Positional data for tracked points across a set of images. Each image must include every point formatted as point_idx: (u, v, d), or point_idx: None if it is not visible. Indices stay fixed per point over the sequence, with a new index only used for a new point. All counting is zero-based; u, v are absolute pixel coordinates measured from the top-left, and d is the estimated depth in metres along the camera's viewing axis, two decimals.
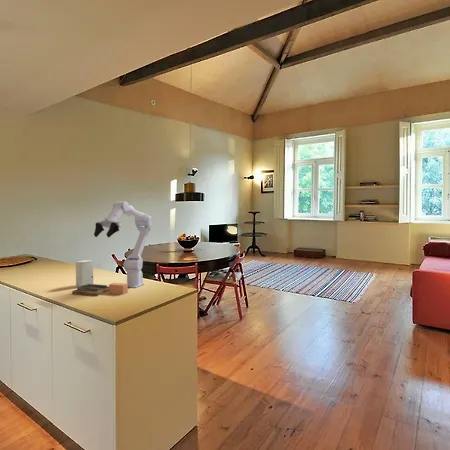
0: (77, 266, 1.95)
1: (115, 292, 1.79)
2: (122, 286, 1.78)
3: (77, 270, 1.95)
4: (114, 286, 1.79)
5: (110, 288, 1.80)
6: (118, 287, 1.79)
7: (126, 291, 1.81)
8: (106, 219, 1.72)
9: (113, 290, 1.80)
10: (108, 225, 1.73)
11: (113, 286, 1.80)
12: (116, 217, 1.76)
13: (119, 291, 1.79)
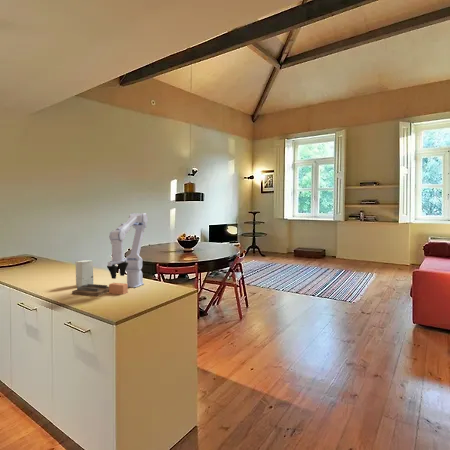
0: (77, 266, 1.95)
1: (115, 292, 1.79)
2: (122, 286, 1.78)
3: (77, 270, 1.95)
4: (114, 286, 1.79)
5: (110, 288, 1.80)
6: (118, 287, 1.79)
7: (126, 291, 1.81)
8: (123, 261, 1.79)
9: (112, 290, 1.80)
10: (118, 263, 1.81)
11: (113, 286, 1.80)
12: None
13: (119, 291, 1.79)
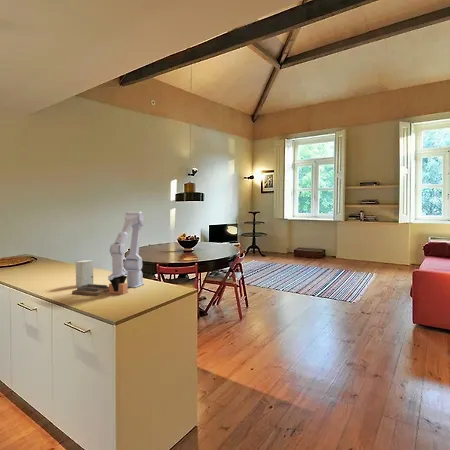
0: (77, 266, 1.95)
1: (115, 292, 1.79)
2: (122, 286, 1.78)
3: (77, 270, 1.95)
4: None
5: (110, 288, 1.80)
6: (118, 287, 1.79)
7: (126, 291, 1.81)
8: (123, 275, 1.80)
9: (112, 290, 1.80)
10: (119, 276, 1.81)
11: None
12: None
13: (119, 291, 1.79)
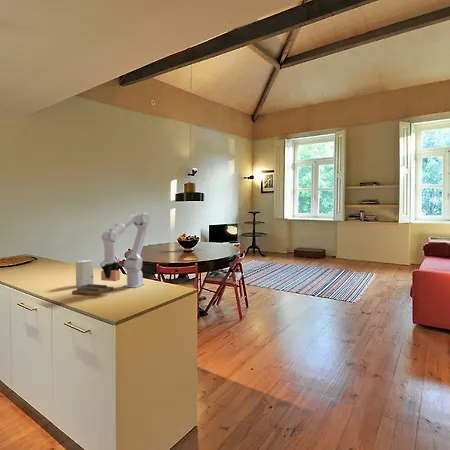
0: (77, 266, 1.95)
1: (107, 279, 1.80)
2: (114, 273, 1.78)
3: (77, 270, 1.95)
4: None
5: (102, 275, 1.81)
6: (110, 274, 1.79)
7: (118, 278, 1.81)
8: (115, 262, 1.80)
9: (105, 277, 1.80)
10: (111, 263, 1.81)
11: None
12: None
13: (111, 278, 1.79)
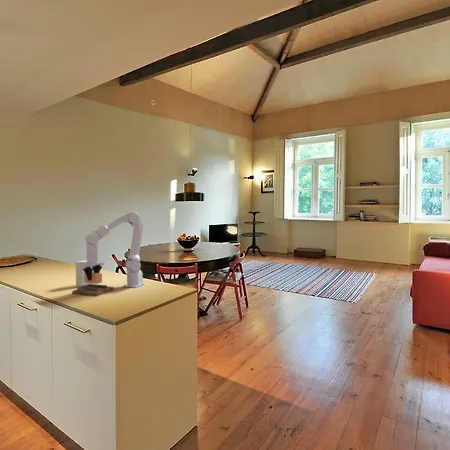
0: (77, 266, 1.95)
1: (89, 281, 1.82)
2: (95, 275, 1.80)
3: (77, 270, 1.95)
4: None
5: (85, 277, 1.83)
6: (92, 276, 1.81)
7: (100, 281, 1.82)
8: (97, 264, 1.82)
9: (87, 279, 1.82)
10: (93, 266, 1.83)
11: None
12: None
13: (93, 280, 1.81)
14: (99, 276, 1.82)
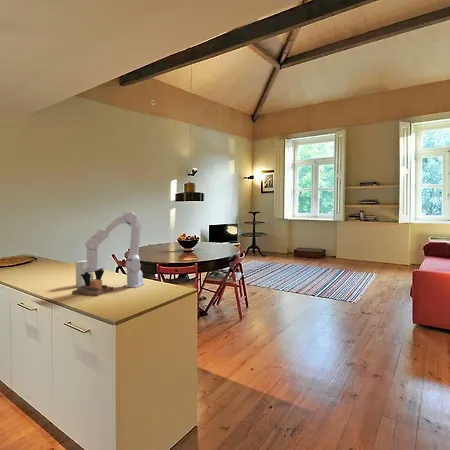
0: (77, 266, 1.95)
1: None
2: (95, 282, 1.80)
3: (77, 270, 1.95)
4: None
5: None
6: (92, 283, 1.81)
7: (100, 287, 1.82)
8: (97, 269, 1.82)
9: (87, 286, 1.83)
10: (93, 271, 1.83)
11: None
12: None
13: (93, 287, 1.81)
14: (99, 283, 1.82)
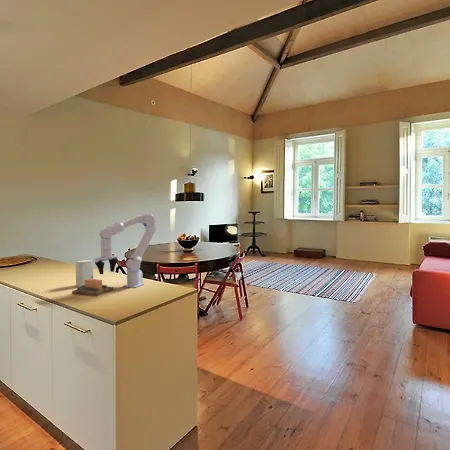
0: (77, 266, 1.95)
1: None
2: (95, 282, 1.80)
3: (77, 270, 1.95)
4: (89, 282, 1.82)
5: (85, 284, 1.83)
6: (92, 283, 1.81)
7: (100, 287, 1.82)
8: None
9: (87, 286, 1.83)
10: None
11: (88, 282, 1.82)
12: None
13: (93, 287, 1.81)
14: (99, 283, 1.82)
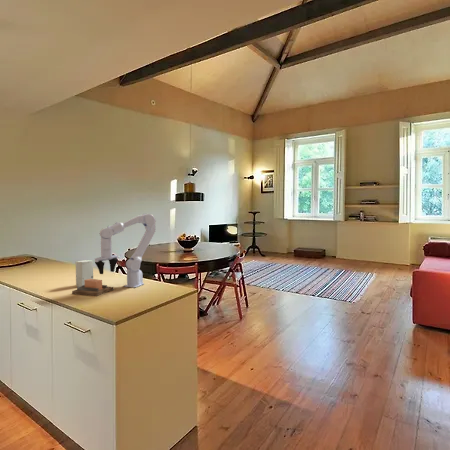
0: (77, 266, 1.95)
1: None
2: (95, 282, 1.80)
3: (77, 270, 1.95)
4: (89, 282, 1.82)
5: (85, 284, 1.83)
6: (92, 283, 1.81)
7: (100, 287, 1.82)
8: (110, 258, 1.87)
9: (87, 286, 1.83)
10: None
11: (88, 282, 1.82)
12: None
13: (93, 287, 1.81)
14: (99, 283, 1.82)
